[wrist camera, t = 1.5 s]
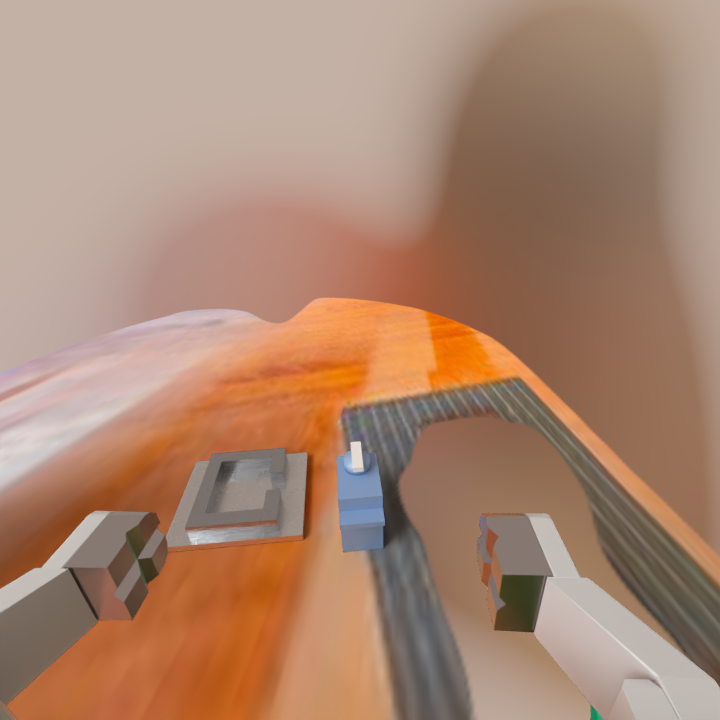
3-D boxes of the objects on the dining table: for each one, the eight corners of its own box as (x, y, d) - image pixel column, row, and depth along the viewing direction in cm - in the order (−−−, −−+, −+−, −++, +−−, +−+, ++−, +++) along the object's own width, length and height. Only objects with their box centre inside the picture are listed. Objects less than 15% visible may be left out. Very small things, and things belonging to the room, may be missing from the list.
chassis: (163, 552, 39) (156, 536, 38) (198, 466, 49) (193, 451, 48) (303, 539, 39) (300, 523, 38) (308, 457, 50) (306, 442, 49)
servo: (343, 566, 37) (337, 501, 32) (340, 496, 44) (335, 435, 40) (385, 562, 37) (384, 497, 33) (375, 493, 44) (373, 432, 40)
